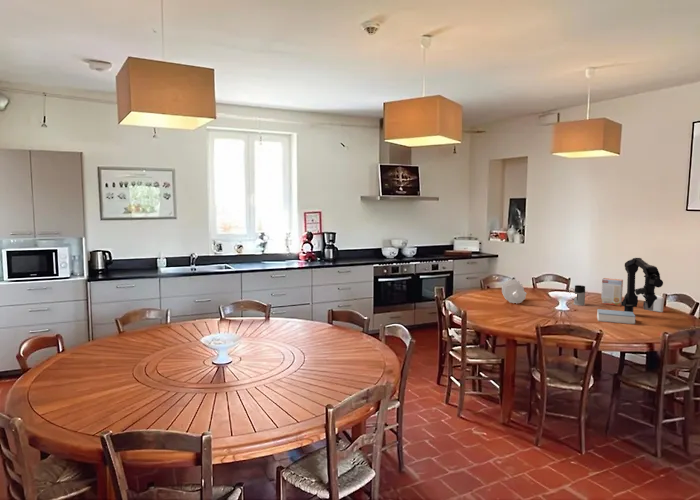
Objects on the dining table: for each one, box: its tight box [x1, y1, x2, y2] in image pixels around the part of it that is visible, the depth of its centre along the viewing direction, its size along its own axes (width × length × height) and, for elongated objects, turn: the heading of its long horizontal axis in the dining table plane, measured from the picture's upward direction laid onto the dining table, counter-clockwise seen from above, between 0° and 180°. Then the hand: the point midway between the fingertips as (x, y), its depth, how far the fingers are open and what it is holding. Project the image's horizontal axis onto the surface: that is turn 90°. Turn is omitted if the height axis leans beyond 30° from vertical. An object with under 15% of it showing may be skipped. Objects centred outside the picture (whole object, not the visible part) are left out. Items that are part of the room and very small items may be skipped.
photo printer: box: [650, 294, 665, 313], centre depth 349 cm, size 10×4×12 cm, turn 39°
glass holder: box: [568, 284, 586, 306], centre depth 371 cm, size 9×14×15 cm, turn 104°
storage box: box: [596, 310, 636, 325], centre depth 322 cm, size 12×22×5 cm, turn 66°
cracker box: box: [600, 277, 624, 307], centre depth 370 cm, size 14×6×21 cm, turn 50°
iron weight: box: [642, 300, 654, 311], centre depth 313 cm, size 5×5×5 cm
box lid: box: [596, 308, 636, 318], centre depth 321 cm, size 12×22×1 cm, turn 66°
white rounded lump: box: [501, 278, 528, 304], centre depth 383 cm, size 18×18×25 cm
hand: (648, 307), depth 313 cm, fingers closed on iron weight, 5 cm apart
